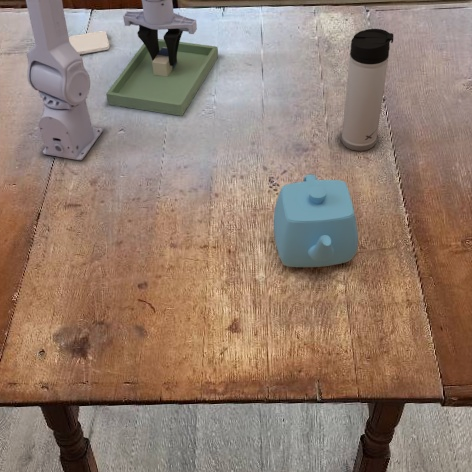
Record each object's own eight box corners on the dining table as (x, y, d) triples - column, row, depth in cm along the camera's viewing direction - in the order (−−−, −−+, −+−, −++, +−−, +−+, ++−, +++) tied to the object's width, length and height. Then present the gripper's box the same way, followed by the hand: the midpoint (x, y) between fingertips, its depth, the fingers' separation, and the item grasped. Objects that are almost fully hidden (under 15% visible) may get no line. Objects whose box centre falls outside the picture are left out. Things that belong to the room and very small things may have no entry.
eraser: (167, 77, 138) (166, 63, 135) (153, 75, 138) (151, 61, 136) (178, 61, 141) (176, 48, 139) (164, 59, 142) (162, 46, 139)
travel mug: (376, 153, 121) (392, 46, 105) (339, 149, 122) (349, 43, 106) (379, 132, 124) (395, 26, 109) (343, 129, 125) (353, 23, 110)
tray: (182, 116, 130) (180, 105, 128) (108, 104, 133) (105, 93, 132) (218, 57, 143) (217, 46, 141) (149, 48, 146) (148, 37, 144)
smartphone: (37, 41, 148) (105, 30, 150) (38, 45, 149) (106, 33, 150) (39, 58, 144) (109, 46, 145) (40, 62, 144) (110, 49, 146)
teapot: (282, 300, 100) (283, 244, 91) (269, 217, 112) (269, 160, 102) (365, 293, 101) (374, 237, 92) (344, 211, 112) (350, 154, 103)
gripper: (199, -12, 128) (205, 56, 139) (129, -19, 132) (140, 47, 142) (186, 6, 124) (193, 74, 135) (114, -2, 128) (126, 65, 138)
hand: (165, 62), depth 138 cm, fingers closed on eraser, 3 cm apart
